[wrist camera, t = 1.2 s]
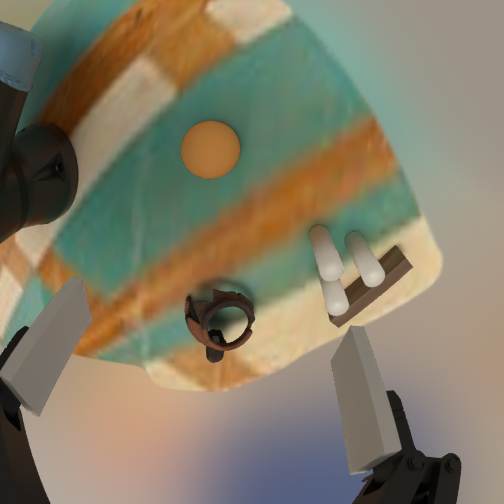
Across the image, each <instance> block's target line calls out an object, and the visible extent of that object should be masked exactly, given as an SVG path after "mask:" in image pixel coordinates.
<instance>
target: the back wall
mask: <svg viewBox="0 0 504 504" xmlns="http://www.w3.org/2000/svg"><path fill="white" fill-rule="evenodd" d="M378 262H379V263H380V265H381V267H382V268H383V270H384V272H385V278H384V280H383V282H382V283H381V284H380V285H378V286H376V287H368V286H366V285H365V283H364V281H363V279H362V277H361V276H360V277H359V278H358V279H357V280H356V281H354V282H353V283H352V284H351V285H350V286H349V287H347V288H346V289H345V290H344V291H345V294H346V297H347V300H348V303H349V308H348V310H347V311H346V312H345V313H344V314H342V315H339V316H333V315H331V314H329V313H328V315H329V319H330V321H331V322H332V323H333V324H334V325H336V326H337V327H338V328H339V327H341V326H342V325H343V324H345V323H346V322H347V321H349V320H350V319H351V318H353V317H354V316H355V315H357V314H358V313H359V312H360V311H362V310H363V309H364V308H365V307H367V306H368V305H369V304H371V303H372V302H373V301H374V300H375V299H377V298H378V297H379V296H380V295H382V294H383V293H384V292H385V291H386V290H388V289H389V288H390V287H391V286H392V285H393V284H395V283H396V282H397V281H398V280H399V279H400V278H401V277H403V276H404V275H405V274H406V273H407V272H408V271H409V270H410V269H412V268H413V266H412V265H411V264H410V262H409V261H408V260H407V259H406V257H405V256H404V255H403V253H402V252H401V251H400V250H399V249H398V247H397V246H396V245H395V246H394V247H393V248H392V249H391V250H390V251H389V252H387V253H386V254H385V255H384V256H383V257H382V258H381V259H380V260H379V261H378Z"/></svg>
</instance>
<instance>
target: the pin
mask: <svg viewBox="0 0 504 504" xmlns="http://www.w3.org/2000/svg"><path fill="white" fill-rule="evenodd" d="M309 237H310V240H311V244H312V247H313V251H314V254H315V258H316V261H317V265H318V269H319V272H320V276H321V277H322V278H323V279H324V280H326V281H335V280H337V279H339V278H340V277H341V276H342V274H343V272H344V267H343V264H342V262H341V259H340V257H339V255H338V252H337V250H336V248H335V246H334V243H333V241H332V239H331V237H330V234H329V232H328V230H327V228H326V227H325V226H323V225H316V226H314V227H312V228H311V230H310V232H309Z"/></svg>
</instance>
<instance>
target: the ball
mask: <svg viewBox="0 0 504 504" xmlns="http://www.w3.org/2000/svg"><path fill="white" fill-rule="evenodd" d="M239 155H240V143H239V139H238V137H237V135H236V134H235V132H234V131H233V130H232V129H231V128H230V127H229V126H227V125H226V124H224V123H221V122H217V121H205V122H201V123H199V124H197V125H195V126H193V127H192V128H191V129H190V130H189V131H188V132H187V133H186V135H185V136H184V138H183V141H182V144H181V157H182V160H183V163H184V164H185V166H186V167H187V169H188V170H189V171H190V172H192V173H193V174H195V175H196V176H199V177H201V178H207V179H212V178H218V177H221V176H223V175H225V174H227V173H228V172H229V171H230V170H231V169H232V168H233V167H234V166H235V165H236V163H237V161H238V158H239Z"/></svg>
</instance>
